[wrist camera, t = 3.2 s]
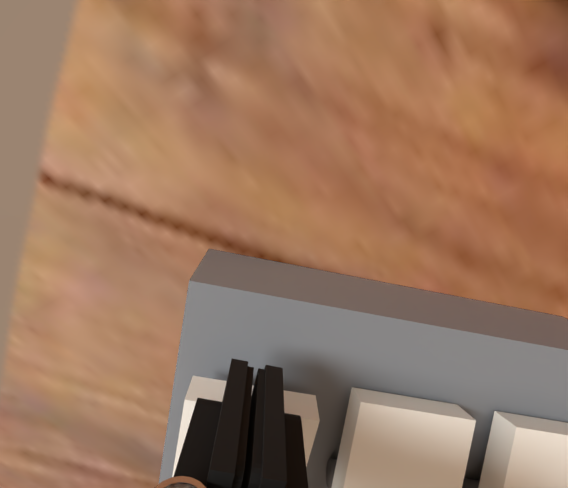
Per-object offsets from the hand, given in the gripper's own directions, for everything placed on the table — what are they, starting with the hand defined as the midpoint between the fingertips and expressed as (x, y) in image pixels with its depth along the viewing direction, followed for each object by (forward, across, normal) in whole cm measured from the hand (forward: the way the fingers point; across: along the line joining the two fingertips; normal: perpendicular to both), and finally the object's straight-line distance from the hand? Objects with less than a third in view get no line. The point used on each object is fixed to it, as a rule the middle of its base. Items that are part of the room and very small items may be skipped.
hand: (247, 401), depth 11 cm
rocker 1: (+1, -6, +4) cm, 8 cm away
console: (+6, -6, +4) cm, 10 cm away
